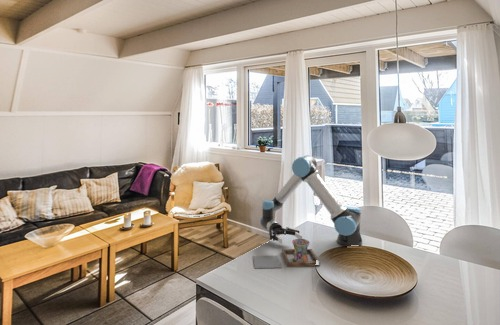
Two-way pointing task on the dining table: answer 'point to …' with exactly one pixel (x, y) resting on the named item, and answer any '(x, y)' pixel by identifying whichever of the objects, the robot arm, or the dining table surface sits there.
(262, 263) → the mat
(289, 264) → the frame
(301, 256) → the mug
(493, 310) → the dining table surface
